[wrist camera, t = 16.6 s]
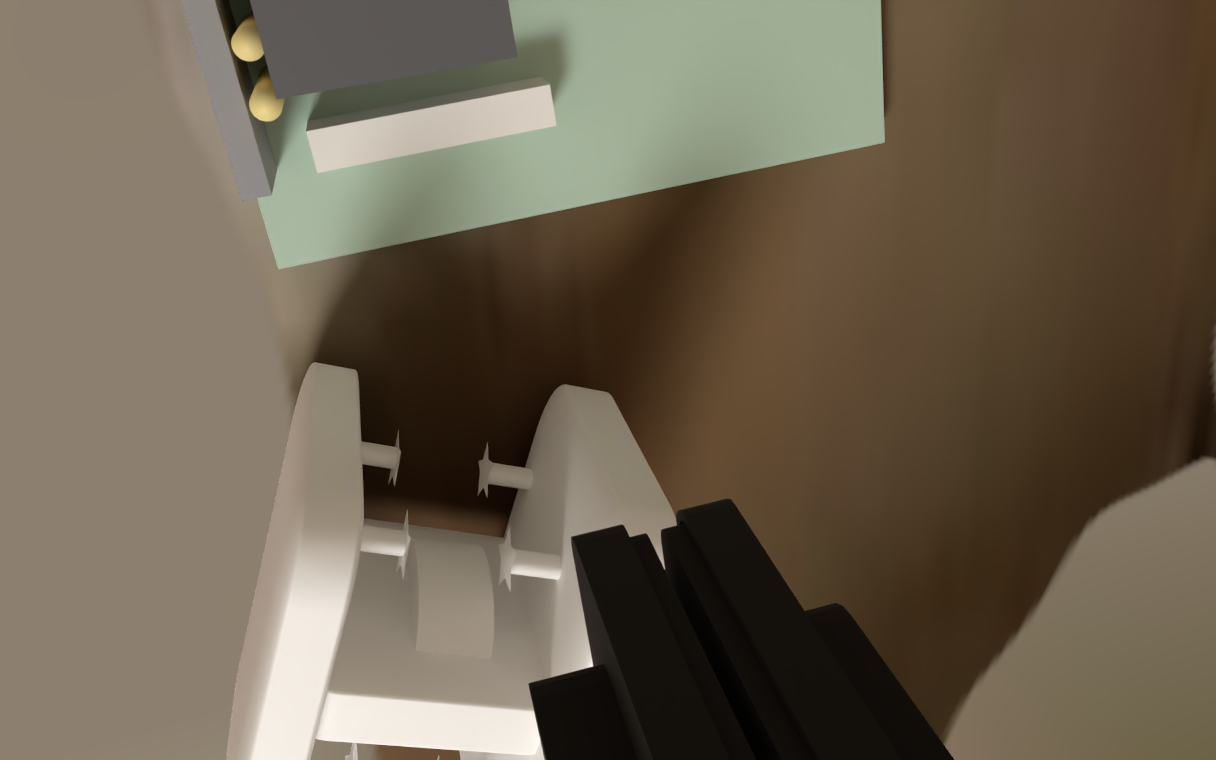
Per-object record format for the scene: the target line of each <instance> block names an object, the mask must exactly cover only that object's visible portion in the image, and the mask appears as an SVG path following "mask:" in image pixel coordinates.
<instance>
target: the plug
mask: <svg viewBox="0 0 1216 760" xmlns="http://www.w3.org/2000/svg"><path fill="white" fill-rule="evenodd" d="M250 3H251V7H252V10H253V14H254V18H255V22H256V25H257V29H258V33H259V36H260V40H261V44H262V48H263V51H264V55H265V59H266V63H267V66H268V70H269V74H270V78H271V81H272V85H273V89H274V93H275V96H276V99H282V98H287V97H293V96H299V95H305V94H310V93H316V92H322V91H327V90H333V89H339V88H345V87H350V86H356V85H362V84H367V83H373V82H379V81H385V80H390V79H396V78H402V77H407V76H413V75H419V74H425V73H430V72H436V71H442V70H447V69H453V68H459V67H465V66H470V65H476V64H482V63H487V62H493V61H499V60H505V59H510V58H516V57H517V51H516V45H515V39H514V33H513V27H512V21H511V15H510V9H509V2H508V0H250Z"/></svg>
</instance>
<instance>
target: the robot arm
mask: <svg viewBox="0 0 1216 760" xmlns="http://www.w3.org/2000/svg"><path fill="white" fill-rule="evenodd" d="M676 522H677V526H673V527H669V528H665V529H662V530H661V544H662V551H663V558H664V566H665V569H664V567H663V565H662V563H661V561H660V559H659V557H658V555H657V553H656V550H655V548H654V546H653V544H652V542H651V540H650V538H649V536H648V535H647V534H646V533H644V534H640V535H636V536H632V537H629V535H628V532H627V530H626V528H625V527H624V525H622V524H621V525H617V526H613V527H609V528H605V529H601V530H596V531H592V532H588V533H584V534H580V535H576V536H572V537H571V545H572V552H573V558H574V563H575V569H576V574H577V580H578V585H579V591H580V596H581V602H582V607H583V613H584V618H585V624H586V629H587V635H588V640H589V646H590V651H591V656H592V662H593V667H589V668H585V669H581V670H578V671H574V672H570V673H566V674H562V675H558V676H555V677H551V678H547V679H543V680H539V681H535V682H532V683H528V685H529V690H530V695H531V699H532V704H533V709H534V713H535V718H536V723H537V727H538V732H539V736H540V741H541V745H542V750H543V755H544V759H545V760H954V759H953V757H952V756H951V754H950V753H949V752H948V750H947V749H946V748H945V746H944V745H943V743H942V742H941V741H940V739H939V738H938V736H937V735H936V734H935V732H934V731H933V729H932V728H931V727H930V725H929V724H928V722H927V721H926V720H925V718H924V717H923V715H922V714H921V713H920V711H919V710H918V708H917V707H916V706H915V704H914V703H913V701H912V700H911V699H910V697H909V696H908V694H907V693H906V692H905V690H904V689H903V687H902V686H901V685H900V683H899V682H898V680H897V679H896V678H895V676H894V675H893V673H892V672H891V671H890V669H889V668H888V666H887V665H886V664H885V662H884V661H883V659H882V658H881V657H880V655H879V654H878V652H877V651H876V650H875V648H874V647H873V645H872V644H871V643H870V641H869V640H868V638H867V637H866V636H865V634H864V633H863V631H862V630H861V629H860V627H859V626H858V624H857V623H856V622H855V620H854V619H853V617H852V616H851V615H850V614H849V613H848V611H847V610H846V609H845V608H844V607H843V606H841V605H839V604H837V603H834V604H830V605H826V606H823V607H819V608H815V609H811V610H807V611H804V610H803V608H802V607H801V605H800V604H799V602H798V600H797V599H796V597H795V596H794V594H793V593H792V591H791V590H790V588H789V587H788V585H787V584H786V582H785V581H784V579H783V577H782V576H781V574H780V573H779V571H778V570H777V568H776V567H775V565H774V564H773V562H772V561H771V559H770V558H769V556H768V555H767V553H766V551H765V550H764V548H763V547H762V545H761V544H760V542H759V541H758V539H757V538H756V536H755V535H754V533H753V532H752V530H751V528H750V527H749V525H748V524H747V522H746V521H745V519H744V518H743V516H742V515H741V513H740V512H739V510H738V509H737V507H736V505H735V504H734V503H733V502H732V500H731V499H724V500H720V501H716V502H712V503H708V504H704V505H699V506H695V507H691V508H687V509H683V510H679V511H678V512H677V517H676Z"/></svg>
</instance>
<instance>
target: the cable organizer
mask: <svg viewBox="0 0 1216 760" xmlns="http://www.w3.org/2000/svg"><path fill="white" fill-rule="evenodd" d="M400 456H401V451H400V449H399V429H398V434H397V439H396V443H395V447H393V446H387V445H381V444H375V443H368V442H362V441H361V424H360V400H359V380H358V373H357V371H356V370H355V369H349V368H344V367H338V366H333V365H327V364H322V363H317V362H314V363H312V364H311V365H310V367H309V369H308V371H307V373H306V375H305V378H304V380H303V383H302V386H301V389H300V392H299V395H298V399H297V403H296V406H295V410H294V414H293V419H292V423H291V428H290V432H289V437H288V442H287V447H286V451H285V456H284V460H283V465H282V470H281V474H280V479H279V483H278V488H277V493H276V497H275V502H274V506H273V511H272V516H271V520H270V525H269V530H268V534H267V539H266V543H265V548H264V553H263V557H262V562H261V567H260V571H259V576H258V580H257V585H256V590H255V595H254V599H253V604H252V609H251V613H250V618H249V622H248V627H247V631H246V636H245V641H244V646H243V650H242V655H241V659H240V664H239V669H238V675H237V680H236V686H235V693H234V700H233V708H232V716H231V724H230V732H229V739H228V747H227V755H226V760H310V758H311V754H312V750H313V746H314V743H315V739H320V740H326V741H338V742H352V746H351V750H350V755H345V760H358V756H357V745H356V743H366V744H380V745H394V746H407V747H421V748H435V749H449V750H460V757H461V760H545V759H544V755H543V750H542V745H541V741H540V736H539V732H538V727H537V723H536V718H535V713H534V709H533V704H532V699H531V695H530V690H529V685H528V683H532V682H535V681H539V680H543V679H547V678H551V677H555V676H558V675H562V674H566V673H570V672H574V671H578V670H581V669H585V668H589V667H593V662H592V656H591V651H590V646H589V640H588V635H587V629H586V624H585V618H584V613H583V607H582V602H581V596H580V591H579V585H578V580H577V574H576V569H575V563H574V558H573V552H572V545H571V537H572V536H576V535H580V534H584V533H588V532H592V531H596V530H601V529H605V528H609V527H613V526H617V525H621V524H622V525H624V527H625V528H626V530H627V532H628V535H629V537H632V536H636V535H640V534H644V533H646V534H647V535H648V536H649V538H650V540H651V542H652V544H653V546H654V548H655V550H656V553H657V555H658V557H659V559H660V561H661V563H662V565H663V567H664V569H665V566H664V558H663V551H662V544H661V530H662V529H665V528H669V527H673V526H677V522H676V518H675V515H674V512H673V510H672V508H671V506H670V504H669V502H668V500H667V499H666V497H665V495H664V493H663V491H662V489H661V487H660V485H659V484H658V482H657V480H656V478H655V476H654V474H653V472H652V470H651V469H650V467H649V465H648V463H647V461H646V459H645V457H644V455H643V454H642V452H641V450H640V448H639V446H638V444H637V442H636V440H635V439H634V437H633V435H632V433H631V431H630V429H629V427H628V425H627V424H626V422H625V420H624V418H623V416H622V414H621V412H620V410H619V409H618V407H617V405H616V403H615V401H614V399H613V397H612V396H611V395H610V394H609V393H607V392H604V391H598V390H593V389H588V388H583V387H578V386H572V385H567V384H564V385H560V386H559V387H558V388H557V389H556V390H555V391H554V393H553V394H552V395H551V397H550V399H549V401H548V402H547V404H546V406H545V408H544V411H543V413H542V416H541V418H540V421H539V424H538V427H537V430H536V433H535V436H534V439H533V443H532V446H531V449H530V452H529V456H528V459H527V462H526V466H525V468H523V467H516V466H510V465H504V464H498V463H492V462H491V461H490V460H488V442H487V446H486V450H485V453H484V457H483V459H482V460H480V461H478V462H479V469H480V476H479V488H478V495H479V493H480V492H481V490H482V489H483V488H484V490H485V493H486V496H487V495H488V484H493V485H499V486H506V487H512V488H518V492H517V495H516V498H515V502H514V505H513V508H512V511H511V515H510V518H509V521H508V524H507V528H506V531H505V534H504V537H503V538H501V537H495V536H488V535H481V534H473V533H466V532H459V531H452V530H445V529H438V528H430V527H423V526H416V525H409V524H408V509H407V513H406V518H405V523H404V524H402V523H395V522H387V521H380V520H373V519H366V518H364V495H363V471H362V464H364V465H371V466H377V467H384V468H390V469H391V471H390V477H389V482H390V480H391V478H392V476H393V482H394V487H395V482H396V477H397V472H398V467H399V462H400ZM388 484H389V483H388ZM438 760H439V756H438Z"/></svg>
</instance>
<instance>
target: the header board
mask: <svg viewBox="0 0 1216 760" xmlns="http://www.w3.org/2000/svg"><path fill="white" fill-rule="evenodd" d="M180 1H181V5H182V8H183V11H184V14H185V18H186V21H187V24H188V27H189V31H190V34H191V37H192V40H193V44H194V47H195V50H196V53H197V57H198V60H199V63H200V66H201V70H202V73H203V76H204V79H205V83H206V86H207V89H208V92H209V96H210V99H211V102H212V105H213V109H214V112H215V115H216V118H217V122H218V125H219V128H220V132H221V135H222V138H223V141H224V145H225V148H226V151H227V154H228V158H229V161H230V164H231V167H232V171H233V174H234V177H235V180H236V184H237V187H238V190H239V193H240V197H241V200H242V201H246V200H251V199H256V198H257V200H258V203H259V206H260V210H261V213H262V216H263V220H264V223H265V226H266V230H267V233H268V236H269V240H270V243H271V246H272V250H273V253H274V256H275V259H276V263H277V266H278V269H282V268H287V267H292V266H296V265H301V264H306V263H311V262H316V261H320V260H325V259H330V258H335V257H339V256H344V255H349V254H354V253H359V252H363V251H368V250H373V249H378V248H382V247H387V246H392V245H397V244H402V243H406V242H411V241H416V240H421V239H426V238H430V237H435V236H440V235H445V234H449V233H454V232H459V231H464V230H469V229H473V228H478V227H483V226H488V225H492V224H497V223H502V222H507V221H512V220H516V219H521V218H526V217H531V216H536V215H540V214H545V213H550V212H555V211H559V210H564V209H569V208H574V207H579V206H583V205H588V204H593V203H598V202H602V201H607V200H612V199H617V198H622V197H626V196H631V195H636V194H641V193H646V192H650V191H655V190H660V189H665V188H669V187H674V186H679V185H684V184H689V183H693V182H698V181H703V180H708V179H712V178H717V177H722V176H727V175H732V174H736V173H741V172H746V171H751V170H756V169H760V168H765V167H770V166H775V165H779V164H784V163H789V162H794V161H799V160H803V159H808V158H813V157H818V156H822V155H827V154H832V153H837V152H842V151H846V150H851V149H856V148H861V147H866V146H870V145H875V144H880V143H885V139H884V102H883V64H882V27H881V0H508V2H509V9H510V15H511V21H512V27H513V33H514V39H515V45H516V51H517V57H516V58H510V59H505V60H499V61H493V62H487V63H482V64H476V65H470V66H465V67H459V68H453V69H447V70H442V71H436V72H430V73H425V74H419V75H413V76H407V77H402V78H396V79H390V80H385V81H379V82H373V83H367V84H362V85H356V86H350V87H345V88H339V89H333V90H327V91H322V92H316V93H310V94H305V95H299V96H293V97H287V98H282V99H276V96H275V93H274V89H273V85H272V81H271V78H270V74H269V70H268V66H267V63H266V59H265V55H264V51H263V48H262V44H261V40H260V36H259V33H258V29H257V25H256V22H255V18H254V14H253V10H252V7H251V3H250V0H180Z"/></svg>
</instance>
